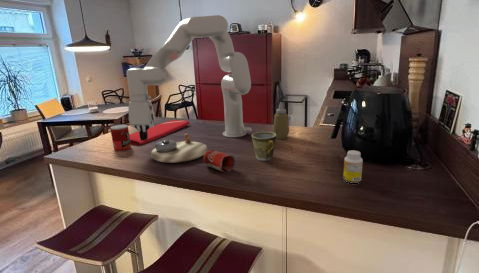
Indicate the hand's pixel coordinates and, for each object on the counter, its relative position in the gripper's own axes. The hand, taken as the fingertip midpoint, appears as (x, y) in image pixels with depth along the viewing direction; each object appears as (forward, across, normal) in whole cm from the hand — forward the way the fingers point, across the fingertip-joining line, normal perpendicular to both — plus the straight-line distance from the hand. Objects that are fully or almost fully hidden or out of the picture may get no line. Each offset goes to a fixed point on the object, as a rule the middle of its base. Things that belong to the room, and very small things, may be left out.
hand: (144, 139), depth 127 cm
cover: (+4, -10, 0) cm, 11 cm away
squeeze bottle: (+6, -59, -28) cm, 66 cm away
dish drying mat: (+7, +10, -34) cm, 36 cm away
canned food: (+7, +16, -8) cm, 19 cm away
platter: (+5, -16, 0) cm, 17 cm away
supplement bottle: (+6, -84, +20) cm, 86 cm away
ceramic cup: (+6, -54, +2) cm, 54 cm away
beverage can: (+7, -36, +13) cm, 39 cm away
